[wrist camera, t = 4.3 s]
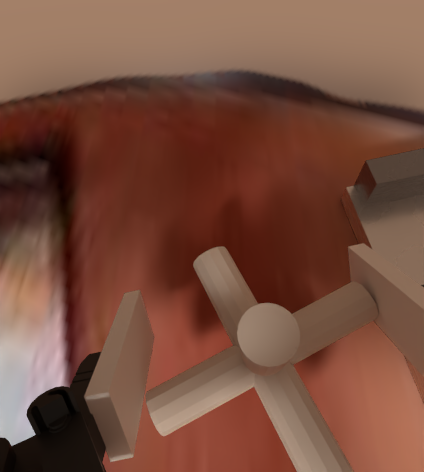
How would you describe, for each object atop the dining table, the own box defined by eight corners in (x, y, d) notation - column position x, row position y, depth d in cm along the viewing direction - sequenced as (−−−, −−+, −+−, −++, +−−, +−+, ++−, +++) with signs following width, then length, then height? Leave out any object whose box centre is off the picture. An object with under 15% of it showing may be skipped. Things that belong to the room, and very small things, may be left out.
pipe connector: (221, 516, 16) (184, 654, 7) (145, 326, 21) (63, 269, 12) (397, 411, 17) (550, 422, 9) (290, 251, 22) (317, 146, 13)
